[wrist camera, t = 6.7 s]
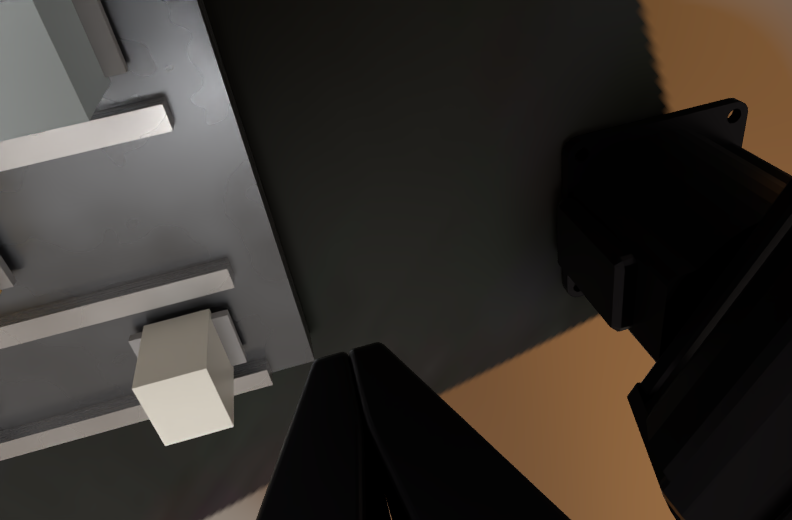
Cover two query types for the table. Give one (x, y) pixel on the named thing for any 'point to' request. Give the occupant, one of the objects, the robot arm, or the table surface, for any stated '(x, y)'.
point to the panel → (135, 236)
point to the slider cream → (187, 374)
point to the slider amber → (6, 276)
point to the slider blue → (53, 63)
